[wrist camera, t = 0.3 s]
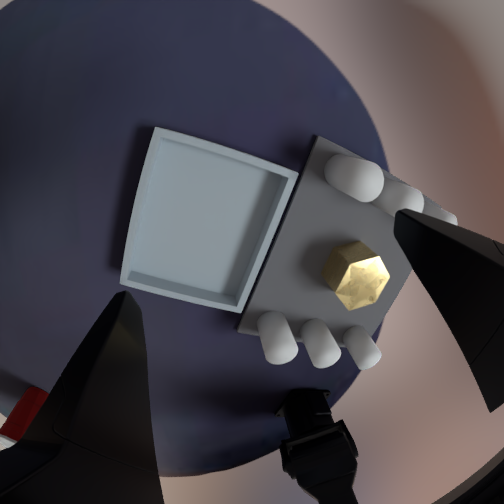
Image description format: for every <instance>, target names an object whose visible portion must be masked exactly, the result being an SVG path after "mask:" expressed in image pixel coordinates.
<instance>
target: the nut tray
mask: <svg viewBox="0 0 504 504" xmlns="http://www.w3.org/2000/svg"><path fill="white" fill-rule="evenodd" d="M298 174H299V173H297V172H295V171H293V170H291V169H289V168H286V167H283V166H281V165H278V164H275V163H273V162H270V161H267V160H265V159H262V158H259V157H256V156H253V155H251V154H248V153H245V152H242V151H239V150H236V149H233V148H230V147H227V146H224V145H221V144H217V143H214V142H211V141H208V140H204V139H201V138H198V137H194V136H191V135H187V134H184V133H180V132H177V131H173V130H169V129H165V128H161V127H155V130H154V133H153V136H152V139H151V142H150V145H149V149H148V152H147V156H146V159H145V163H144V166H143V170H142V173H141V177H140V181H139V185H138V189H137V193H136V197H135V202H134V206H133V211H132V215H131V220H130V225H129V230H128V235H127V240H126V246H125V252H124V258H123V264H122V271H121V278H120V284H122V285H126V286H129V287H133V288H137V289H140V290H144V291H148V292H152V293H156V294H159V295H163V296H167V297H171V298H175V299H179V300H184V301H188V302H192V303H196V304H201V305H205V306H209V307H214V308H218V309H223V310H228V311H232V312H237V313H241V312H242V310H243V308H244V305H245V303H246V301H247V298H248V296H249V293H250V291H251V289H252V286H253V284H254V282H255V279H256V277H257V274H258V272H259V270H260V267H261V265H262V262H263V260H264V258H265V255H266V253H267V250H268V248H269V246H270V243H271V241H272V238H273V236H274V233H275V231H276V229H277V226H278V224H279V221H280V219H281V216H282V214H283V211H284V209H285V207H286V204H287V202H288V199H289V197H290V194H291V192H292V189H293V187H294V184H295V182H296V179H297V177H298Z"/></svg>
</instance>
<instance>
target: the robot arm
mask: <svg viewBox="0 0 504 504" xmlns="http://www.w3.org/2000/svg"><path fill="white" fill-rule="evenodd" d="M393 233H394V237H395V239H396V240H397V242H398V244H399V246H400V247H401V249H402V251H403V252H404V254H405V256H406V258H407V259H408V261H409V263H410V265H411V267H412V268H413V270H414V272H415V273H416V275H417V276H418V278H419V279H420V281H421V283H422V284H423V286H424V287H425V289H426V290H427V292H428V293H429V295H430V296H431V298H432V300H433V301H434V303H435V305H436V306H437V308H438V309H439V311H440V313H441V314H442V316H443V318H444V320H445V321H446V323H447V325H448V327H449V328H450V330H451V332H452V334H453V335H454V337H455V339H456V341H457V343H458V345H459V346H460V348H461V350H462V352H463V354H464V356H465V358H466V360H467V362H468V364H469V365H470V366H469V367H470V369H471V371H472V373H473V375H474V377H475V379H476V382H477V384H478V386H479V388H480V391H481V393H482V395H483V397H484V400H485V403H486V405H487V408H488V410H489V412H490V413H491V412H492V411H494V410H495V409H497V408H498V407H499V406H501V405H502V404H503V403H504V244H502V243H499V242H497V241H494V240H492V239H490V238H487V237H485V236H482V235H480V234H477V233H475V232H473V231H470V230H467V229H465V228H462V227H459V226H457V225H454V224H451V223H449V222H446V221H443V220H440V219H438V218H435V217H432V216H429V215H426V214H423V213H420V212H417V211H414V210H411V209H407V208H404V209H401V210H398V211H397V212H396V213H395V220H394V229H393ZM330 394H331V393H330V391H319V390H293V391H291V392H290V394H289V395H288V397H287V398H286V399H285V401H284V402H283V403H282V404H281V406H280V407H279V408H278V410H277V411H276V412H275V417H285V420H286V423H287V427H288V430H289V434H290V437H291V438H290V439H286V440H285V439H284V440H281V442H282V444H281V445H280V446H279V449H280V453H281V457H282V466H283V471H284V472H287V473H288V474H289V475H290V476H291V478H292V479H297V483H298V485H299V486H300V487H301V488H302V490H303V491H304V492H305V493H307V494H308V495H309V496H311V497H312V498H314V499H315V500H316V501H318V502H319V504H358V502H357V500H356V497H355V495H354V492H353V489H352V488H353V484H354V480H355V477H356V471H357V461H356V458H357V457H358V451H357V448H356V445H355V442H354V440H353V438H352V436H351V434H350V432H349V431H348V429H347V427H346V425H345V423H344V421H343V420H339V421H338V422H336V423H334V421H333V419H332V416H331V410H330V408H329V405H328V403H327V401H326V399H327V398H328V397H329V395H330ZM0 504H164V499H163V495H162V489H161V485H160V479H159V475H158V468H157V461H156V455H155V448H154V440H153V432H152V423H151V412H150V400H149V386H148V367H147V351H146V344H145V336H144V328H143V319H142V312H141V309H140V307H139V305H138V304H137V302H136V301H135V299H134V298H133V296H132V295H131V293H130V292H129V291H126V290H125V291H122V292H118V293H116V294H115V295H114V297H113V298H112V299H111V301H110V302H109V303H108V305H107V306H106V308H105V309H104V310H103V312H102V313H101V315H100V316H99V317H98V319H97V320H96V322H95V323H94V325H93V326H92V328H91V329H90V330H89V332H88V333H87V335H86V336H85V338H84V339H83V341H82V342H81V344H80V345H79V347H78V348H77V350H76V352H75V353H74V355H73V356H72V358H71V359H70V361H69V362H68V364H67V366H66V367H65V369H64V371H63V372H62V374H61V376H60V377H59V379H58V380H57V382H56V384H55V385H54V387H53V389H52V390H51V392H50V394H49V395H48V397H47V399H46V400H45V402H44V403H43V405H42V406H41V408H40V409H39V411H38V412H37V414H36V415H35V417H34V419H33V420H32V422H31V423H30V425H29V426H28V428H27V430H26V431H25V433H24V434H23V436H22V437H21V439H20V440H19V441H18V442H17V443H15V444H14V445H12V446H11V447H9V448H6V449H4V450H1V451H0ZM432 504H504V448H503V449H502V450H501V451H499V453H497V454H496V455H495V456H494V457H493V458H492V459H491V460H490V461H489V462H487V464H485V465H484V466H483V467H482V468H481V469H479V470H478V471H477V472H476V473H474V474H473V475H472V476H471V477H469V478H468V479H467V480H465V481H464V482H463V483H461V484H460V485H459V486H457V487H456V488H455V489H453V490H452V491H450V492H449V493H447V494H446V495H444V496H443V497H442V498H440V499H438V500H437V501H435V502H434V503H432Z"/></svg>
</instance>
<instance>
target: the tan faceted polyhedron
mask: <svg viewBox="0 0 504 504" xmlns="http://www.w3.org/2000/svg"><path fill="white" fill-rule="evenodd" d="M321 275H322V276H323V277H324V279H325V280H326V282H327V283H328V284H329V286H330V287H331V288H332V290H333V291H334V292H335V294H336V295H337V296H338V298H339V299H340V300H341V301H342V303H343V304H344V305H345V306H346V308H347V309H348V310H349V311H350V310H353V309H357V308H360V307H363V306H366V305H369V304H372V303H375V302H376V300H377V299H378V297H379V295H380V294H381V292H382V290H383V288H384V287H385V285H386V283H387V281H388V279H389V278H390V276H389V274H388V272H387V270H386V268H385V266H384V264H383V263H382V261H381V259H380V257H379V256H378V255H377V254H376V253H375V252H373V251H372V250H371V249H370V248H369V247H367V246H366V245H365V244H364V243H363V242H361V241H356V242H352V243H348V244H344V245H340V246H335V247H333V249H332V251H331V253H330V255H329V257H328V259H327V262H326V264H325V266H324V268H323V270H322V272H321Z"/></svg>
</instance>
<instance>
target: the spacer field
mask: <svg viewBox="0 0 504 504" xmlns="http://www.w3.org/2000/svg"><path fill="white" fill-rule="evenodd" d="M404 208H407V209H411V210H414V211H417V212H420V213H423V214H426V215H429V216H432V217H435V218H438V219H440V220H443V221H446V222H449V223H451V224H454V225H457V219H456V217H455V215H453V214H451V213H449V212H447V211H445V210H443V209H441V206H439V205H438V204H437V203H435V202H434V201H432V200H431V199H429V198H427V197H426V196H425V195H423V194H422V193H421V192H420V191H419V190H418V189H415V188H413V187H411V186H410V185H408V184H406V183H405V182H403V181H402V180H400V179H398V178H397V177H395V176H393V175H392V174H390V173H388V172H387V171H385V170H383V169H382V168H380V167H379V166H378V165H377V164H375V163H373V162H370V161H367V160H366V159H364V158H362V157H360V156H358V155H356V154H354V153H352V152H351V151H349V150H347V149H345V148H343V147H341V146H339V145H337V144H335V143H333V142H331V141H329V140H326V139H324V138H322V137H320V136H317V137H316V140H315V142H314V145H313V147H312V150H311V152H310V155H309V157H308V160H307V162H306V165H305V167H304V170H303V172H302V175H301V177H300V180H299V182H298V185H297V187H296V190H295V192H294V195H293V197H292V200H291V202H290V204H289V207H288V209H287V212H286V214H285V217H284V219H283V222H282V224H281V226H280V229H279V231H278V234H277V236H276V238H275V241H274V243H273V246H272V248H271V250H270V253H269V255H268V258H267V260H266V262H265V265H264V267H263V269H262V272H261V274H260V277H259V279H258V281H257V284H256V286H255V288H254V291H253V293H252V295H251V298H250V300H249V302H248V305H247V307H246V309H245V312H244V314H243V316H242V319H241V321H240V323H239V326H238V328H237V332H239V333H245V334H251V335H256V336H260V339H261V342H262V346H263V350H264V353H265V357H266V360H267V361H268V362H270V363H272V364H284V363H287V362H289V361H291V360H292V359H293V358H294V357H295V356H296V355H297V353H298V347H297V344H296V342H303V343H304V345H305V347H306V349H307V352H308V354H309V356H310V358H311V361H312V363H313V365H314V366H315V367H317V368H326V367H329V366H331V365H333V364H334V363H335V362H336V361H337V360H338V359H339V358H340V356H341V350H340V348H339V347H347V349H348V351H349V353H350V354H351V356H352V358H353V359H354V361H355V363H356V364H357V366H358V368H359V369H361V370H366V369H369V368H371V367H373V366H374V365H375V364H377V362H378V361H379V360H380V358H381V356H382V354H381V352H380V350H379V349H378V347H377V346H376V344H375V343H374V341H373V340H372V339H371V336H372V335H373V333H374V332H375V330H376V329H377V327H378V326H379V324H380V323H381V321H382V320H383V318H384V316H385V315H386V313H387V312H388V310H389V308H390V307H391V305H392V303H393V302H394V300H395V298H396V297H397V295H398V293H399V291H400V290H401V288H402V287H403V285H404V283H405V281H406V279H407V278H408V276H409V274H410V272H411V270H412V267H411V265H410V263H409V261H408V259H407V258H406V256H405V254H404V252H403V251H402V249H401V247H400V246H399V244H398V242H397V240H396V239H395V237H394V233H393V229H394V220H395V213H396V212H397V211H398V210H401V209H404ZM356 241H361V242H363V243H364V244H365V245H366V246H367V247H369V248H370V249H371V250H372V251H373V252H375V253H376V254H377V255H378V256H379V257H380V259H381V261H382V263H383V264H384V266H385V268H386V270H387V272H388V274H389V276H390V278H389V279H388V281H387V283H386V285H385V287H384V288H383V290H382V292H381V294H380V295H379V297H378V299H377V300H376V302H375V303H372V304H369V305H366V306H363V307H360V308H357V309H353V310H350V311H349V310H348V309H347V308H346V306H345V305H344V304H343V303H342V301H341V300H340V299H339V298H338V296H337V295H336V294H335V292H334V291H333V290H332V288H331V287H330V286H329V284H328V283H327V282H326V280H325V279H324V277H323V276H322V275H321V272H322V270H323V268H324V266H325V264H326V262H327V259H328V257H329V255H330V253H331V251H332V249H333V247H335V246H340V245H344V244H348V243H352V242H356ZM295 341H296V342H295Z"/></svg>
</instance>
